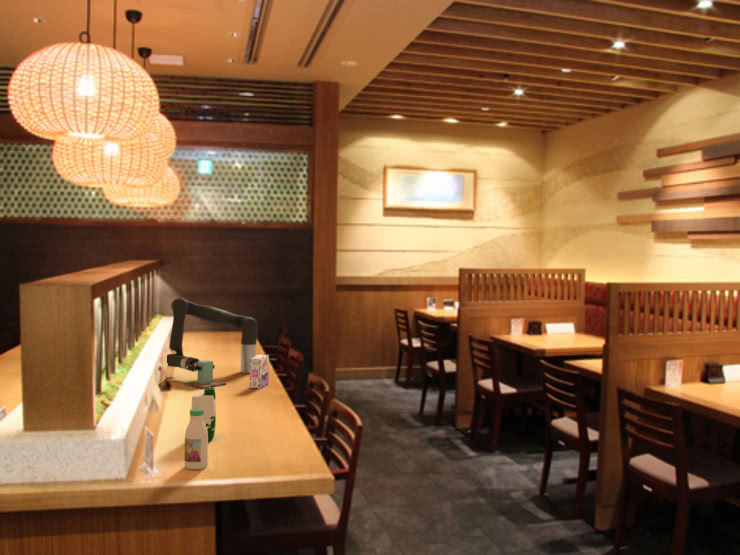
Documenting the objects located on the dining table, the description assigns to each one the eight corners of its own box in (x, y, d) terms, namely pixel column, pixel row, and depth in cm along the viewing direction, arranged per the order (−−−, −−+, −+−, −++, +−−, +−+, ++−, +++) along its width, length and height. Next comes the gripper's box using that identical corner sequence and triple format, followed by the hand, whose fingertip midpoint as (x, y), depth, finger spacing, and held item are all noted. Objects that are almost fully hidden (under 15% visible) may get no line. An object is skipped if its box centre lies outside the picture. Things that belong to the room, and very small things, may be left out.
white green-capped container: (213, 442, 246) (213, 391, 245) (189, 442, 245) (190, 391, 244) (216, 435, 254) (217, 386, 254) (193, 435, 254) (194, 386, 253)
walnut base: (208, 380, 358) (209, 366, 357) (226, 384, 347) (226, 370, 347) (184, 384, 346) (184, 370, 345) (201, 389, 335) (201, 374, 335)
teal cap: (206, 381, 350) (206, 359, 350) (212, 382, 347) (213, 361, 346) (197, 382, 346) (197, 361, 346) (203, 384, 342) (204, 362, 342)
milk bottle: (197, 461, 224) (198, 405, 223) (212, 466, 219) (213, 409, 218) (179, 467, 217) (180, 409, 216) (194, 472, 213) (195, 413, 212)
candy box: (259, 389, 338) (260, 358, 338) (249, 388, 340) (249, 358, 339) (268, 384, 352) (269, 354, 351) (258, 383, 353) (259, 354, 352)
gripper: (179, 358, 350) (196, 362, 339) (201, 355, 361) (218, 359, 350) (179, 372, 350) (196, 376, 339) (201, 368, 361) (218, 373, 350)
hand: (207, 367), depth 345 cm, fingers open, 8 cm apart
